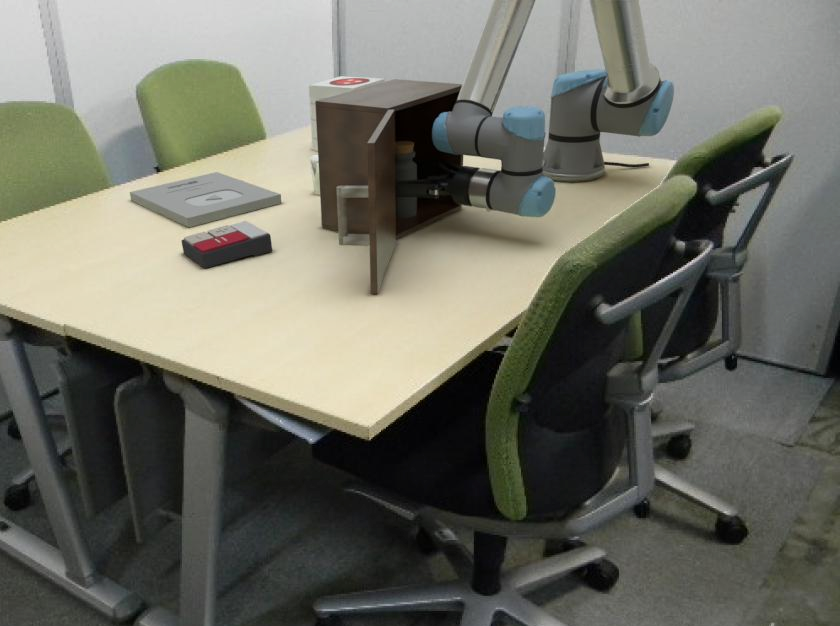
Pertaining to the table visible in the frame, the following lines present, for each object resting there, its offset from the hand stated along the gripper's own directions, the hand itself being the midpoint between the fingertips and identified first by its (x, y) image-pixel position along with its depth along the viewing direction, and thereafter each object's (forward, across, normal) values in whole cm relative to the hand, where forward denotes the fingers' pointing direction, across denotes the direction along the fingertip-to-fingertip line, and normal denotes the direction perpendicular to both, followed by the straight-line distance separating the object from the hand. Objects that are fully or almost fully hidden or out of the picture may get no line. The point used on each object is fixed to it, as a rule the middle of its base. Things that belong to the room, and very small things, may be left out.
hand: (390, 173), depth 181 cm
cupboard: (-1, -1, -9) cm, 9 cm away
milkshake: (+26, +6, -10) cm, 28 cm away
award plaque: (+45, -14, -10) cm, 48 cm away
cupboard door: (-15, -27, -9) cm, 32 cm away
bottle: (-3, 0, -8) cm, 9 cm away
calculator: (+14, -36, -9) cm, 40 cm away
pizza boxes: (+42, +42, -10) cm, 60 cm away
